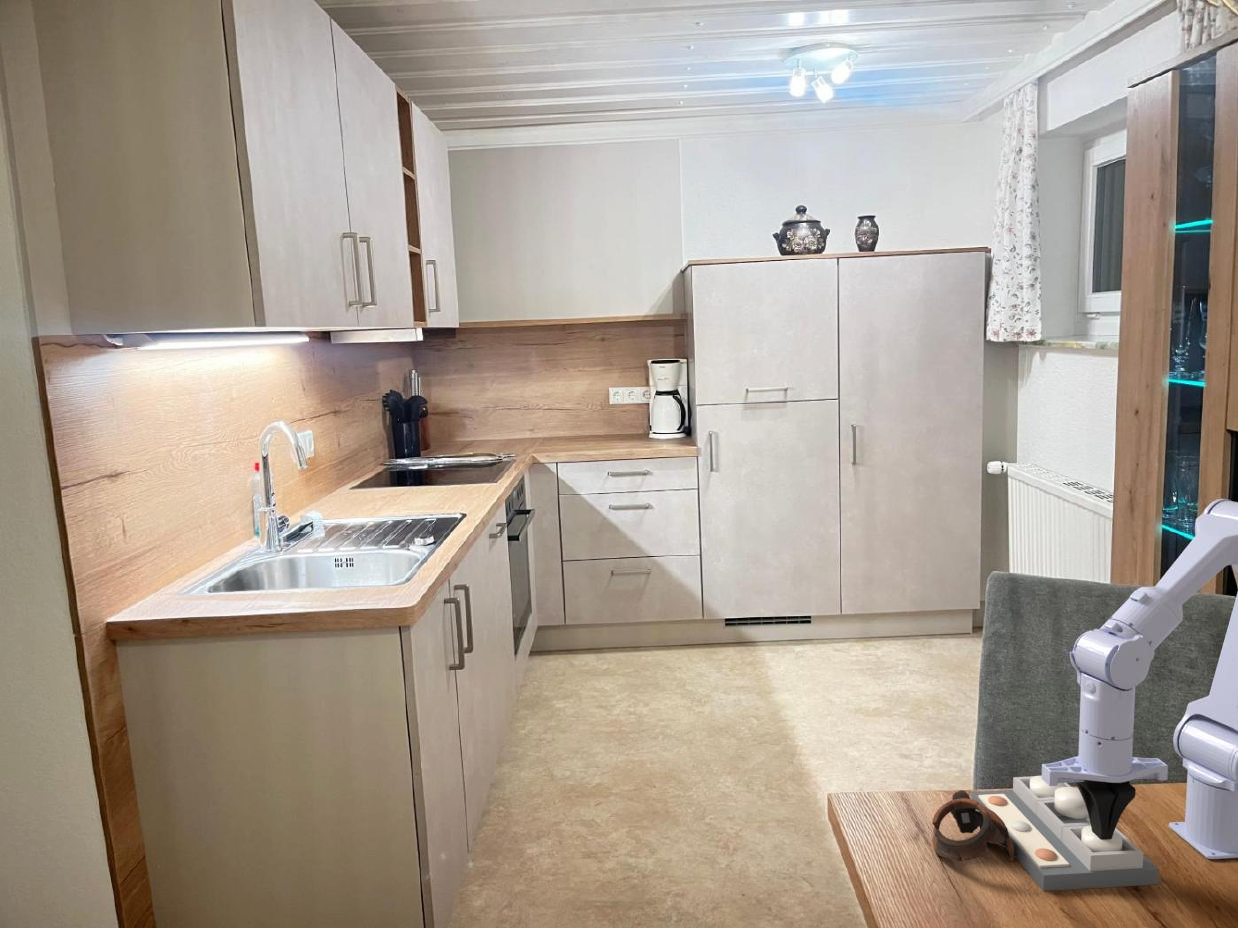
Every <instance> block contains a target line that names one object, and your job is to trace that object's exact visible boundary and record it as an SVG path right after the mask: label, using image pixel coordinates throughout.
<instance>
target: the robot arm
mask: <svg viewBox="0 0 1238 928" xmlns="http://www.w3.org/2000/svg"><path fill="white" fill-rule="evenodd" d="M1194 524H1195V525H1194V535H1195V536H1194V537H1193V539H1192V540H1191V541H1190V542H1189V544H1188V545H1187V546H1186V547H1185V548H1184V550H1183V551H1182V553H1180V555H1179V556H1178V558H1176V560H1175V561H1174V562H1173V563H1172V565H1171V566H1170V567H1169V568H1168V570H1167V571H1166V572H1165V573H1164V575H1163V576H1162V577H1161V579H1160V580H1158V582H1157V584H1155V586H1154V585H1153V586H1142V587H1139V588H1138V589H1136V590H1134V591H1133V592H1132V593H1131V594H1130V596H1129V598H1127V599H1126V601H1125V602H1124V603H1123V604H1122V605H1121V606H1120V607H1119V608H1118V609H1117V610H1116V611H1114V613H1113V614H1112V615H1111V616H1110V617H1109V618H1108V620H1106V621H1105V623H1104V624H1103V625H1102V626H1101V627H1100V628H1094V629H1093V630H1091V629H1090V630H1088V631H1086V632H1084V633H1082V634H1081V635H1080V636H1078V638H1077V639H1076V641H1075V642H1074V645H1073V649H1072V651H1069V660H1070V663H1071V665H1072V667H1073V669H1075V671H1076V674H1077V675H1076V676H1077V677H1076V682H1077V683H1078V686H1080V703H1079V724H1078V725H1079V726H1078V727H1079V730H1078V732H1079V733H1078V755H1077V756H1073V757H1069V758H1066V759H1063V760H1059V761H1054V762H1050V763H1042V764H1041V776H1042V779H1043V780H1044V781H1045V782H1046V783H1047V784H1048V785H1049V786H1057V785H1058V783H1067V784H1069V783H1075V784H1076V788H1078V789H1079V791H1080V793H1081V795H1082V797H1083V800H1084V802H1085V805H1086V808H1087V811H1088V815H1089V819H1090V823H1091V828H1092V832H1093V833H1094V834H1095V835H1096V836H1097V837H1098V838H1099V839H1101V840H1108V839H1112V836H1113V833H1114V831H1115V828H1117V825H1118V822H1119V821H1120V819H1121V816H1122V815H1123V812H1124V811H1125V810H1126V809H1127V806H1128V805H1129V804H1130V803H1131V802H1132V801H1133V800H1134V799H1135V798H1136V790H1137V789H1136V788H1135V787H1134V786H1133V784H1131V783H1130V781H1133V780H1141V779H1143V780H1144V779H1156V780H1157V781H1167V780H1168V774H1169V773H1168V771H1169V765H1168V764H1166V763H1165V762H1164V761H1162V760H1161V759H1160V758H1158V757H1154V758H1151V757H1136V756H1133V750H1134V749H1133V745H1134V727H1135V726H1134V722H1135V705H1136V704H1135V701H1136V687H1137V686H1139V684H1141V683H1142V682H1144V681H1145V680H1146V679H1147V678H1146V677H1147V676H1148V673H1149V670H1150V666H1151V662H1152V661H1153V659H1154V658H1155V655H1156V652H1155V650H1156V649H1157V647H1159V646H1160V644H1162V643H1163V641H1164V640H1166V638H1167V637H1168V636H1169V635H1170V634H1171V633H1172V632H1173V631H1174V630H1175V629H1176V628H1177V627H1178V626H1179V625H1180V623H1182V621H1183V619H1184V612H1183V604H1184V603H1186V602H1187V601H1189V600H1190V598H1191V597H1192V596H1194V595H1195V594H1196V593H1197V592H1198V591H1199V590H1201V589H1202V587H1204V586H1205V585H1206V584H1207V583H1208V582H1210V580H1212V579H1213V578H1215V576H1216V575H1217V574H1219V573H1220V572H1221V571H1222V570H1223V569H1224V568H1226V566H1232V567H1233V569H1235V571H1236V573H1237V574H1238V502H1237V501H1232V500H1231V499H1226V498H1217V499H1215V500H1214V501H1213V500H1212V502H1211V503H1209V504H1208V505H1207V507H1205V509H1204V511H1203V512H1202V513H1201V514H1200V515H1199V516H1198V517H1197V518H1196V519H1195V523H1194ZM1186 706H1187V707H1186V710H1185V713H1184V715H1183V717H1182V719H1181V720H1180V721H1179V723H1178V724H1177V725H1176V727H1175V729H1174V732H1173V740H1172V741H1173V748H1174V750H1175V752H1176V754H1177V755H1178V757H1181V758H1182V767H1183V768H1185V769H1186V770H1187V776H1186V779H1187V780H1186V797H1185V811H1184V813H1185V815H1184V816H1185V817H1184V821H1173V822H1169V823H1168V828H1170V829H1171V830H1172V831H1174V832H1175V833H1176V834H1177V835H1179V837H1181V838H1182V839H1183V840H1185V842H1187V843H1188V844H1189V845H1191V846H1192V847H1193V848H1194V849H1196V851H1198V852H1199V853H1200V854H1202V855H1203V857H1205V858H1206V859H1209V860H1217V859H1218V860H1220V859H1221V860H1222V859H1223V860H1224V859H1238V592H1237V594H1236V598H1235V600H1234V604H1233V609H1232V611H1231V615H1230V618H1229V623H1228V626H1227V629H1226V633H1225V637H1224V641H1223V644H1222V648H1221V651H1220V655H1219V658H1218V662H1217V665H1216V669H1215V672H1214V676H1213V679H1212V683H1211V687H1210V691H1209V695H1207V696H1205V697H1202V698H1198V699H1196V700H1193V701H1190V702H1189V703H1188V704H1187V705H1186Z"/></svg>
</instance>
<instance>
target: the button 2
mask: <svg viewBox="0 0 1238 928" xmlns="http://www.w3.org/2000/svg"><path fill="white" fill-rule="evenodd" d="M1081 841H1082V842H1083V843H1084V844H1085V845H1086V846H1087V847H1088V848H1089V849H1090V850H1091V851H1092V852H1111V851H1122V836H1121V835H1120V834H1119V833H1117V832H1116V831H1114V833H1113V836H1112V839H1108V840H1101V839H1099V838H1098V837H1097V836H1096V835H1095V834H1094V833H1093V832H1092V828H1091V826H1086V827H1084V828H1083V829H1082V836H1081Z"/></svg>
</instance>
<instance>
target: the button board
mask: <svg viewBox="0 0 1238 928" xmlns="http://www.w3.org/2000/svg"><path fill="white" fill-rule="evenodd" d="M1034 776H1035V775H1034ZM1034 776H1033V775H1032V776H1031V775H1030V776H1015V777H1013V779H1012V786H1013V787H1012V789H1000V790H983V791H980V790H979V791H971V797H970V799H972V800H975V801H977V802H978V803H980V804H982V805H983V806H984V807H987V808H988V809H990V810H992V811H993V812H995V813H996V814H997V815H998V816H999V817H1000V818H1001V819H1002V820H1003V822H1004V823H1005V826H1006V827H1007V829H1008V832H1009V837H1010V839H1011V841H1012V844H1013V847H1014V856H1015V860H1016V861H1018V863H1019V864H1020V865H1021V867H1023V869H1024V870H1025V871H1026V872H1027V874H1028V875H1029V876H1030V877H1031V878H1032V879H1033V881H1035V883H1036V884H1037V886H1039V888H1040V889H1041V890H1042V891H1043V892H1047V891H1048V892H1050V891H1064V890H1066V891H1067V890H1082V889H1083V890H1085V889H1100V888H1114V887H1115V888H1116V887H1117V888H1118V887H1121V888H1122V887H1134V886H1135V887H1138V886H1153V885H1154V886H1156V885H1159V872H1160V869H1159V867H1158V866H1156V865H1155V864H1154V863H1153V862H1152V861H1151V860H1150V859H1149V858H1148V857H1147V856H1145V855H1144V852H1143V851H1142V850H1141V848H1139V847H1138V846H1136V845H1135V844H1134V843H1133V842H1132V841H1131V840H1130V838H1128V837H1127V836H1126V835H1125V834H1123V833H1122V832H1121V831H1120V830H1119V829H1118V828H1117V827H1116V828H1115V831H1116V832H1117V833H1119V834H1120V835H1121V836H1122V851H1111V852H1092V851H1091V850H1090V849H1089V848H1088V847H1087V846H1086V845H1085V844H1084V843H1083V842H1082V841H1081V836H1082V829H1083V828H1084V827H1086V826H1091V823H1090V819H1089V818H1084V819H1077V818H1071V817H1067V816H1064V815H1062V814H1060V813H1059V812H1057V811H1056V810H1055V808H1054V801H1055V797H1046V798H1038V797H1037V796H1036V795H1035V794H1034V793H1033V792H1032V791H1031V790H1030V779H1031V778H1032V777H1034ZM1064 784H1065V787H1072V786H1071V785H1070V784H1069V783H1064ZM976 811H978V812H980V811H979V810H977V809H976Z"/></svg>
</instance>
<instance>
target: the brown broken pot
mask: <svg viewBox="0 0 1238 928" xmlns="http://www.w3.org/2000/svg"><path fill="white" fill-rule="evenodd" d="M976 809H977V810H979V811H980V812H978V811H976ZM949 814H951V815H952V817H953V819H954V820H955V822H956V825H957V828H958V829H959V833H961V834H973V833H974V831H976V830H977V829H978V828H979V831H978V832H977V833H976V834H975V835H973V836H971V837H969V838H966V839H963V840H961V839H960V840H954V839H951V838H948V837H946V836H945V835H944V834H942V832H941V830H940V827H941V824H942V821H943V820H944V818H945V817H946V816H947V815H949ZM932 825H933V826H934V827H933V831H932V833H933V834H932V841H931V842H932V847H933V851H934V853H935V855H936V857H943V858H946V859H949V860H951V861H955V862H962V860H963V861H971V860H974V859H979V858H981V859H985V860H989V861H990V860H991V857H990V855H989V851H988V845H987V843H990V844H998V845H1001V846H1003V847H1004V848H1005V849H1006V850H1007V852H1008V853H1009V855H1010V860H1011V862H1012V863H1014V862H1015V861H1016V858H1015V856H1014V847H1013V844H1012V841H1011V839H1010V837H1009V832H1008V829H1007V827H1006V826H1005V823H1004V822H1003V820H1002V819H1001V818H1000V817H999V816H998V815H997V814H996V813H995V812H993V811H992V810H990V809H988V808H987V807H984V806H983V805H982V804H980V803H978V802H977V801H975V800H972V799H971V797H970V795H969V794H968V793H967V792H966V791H965V790H959V791H955V792H954V793H953V794H952V799H951V800H950V801H948V802H946V803H944V804H943V805H941V806H940V807H939V808H938V809H937V811H936V812H935V814H934V815H933V819H932Z"/></svg>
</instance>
